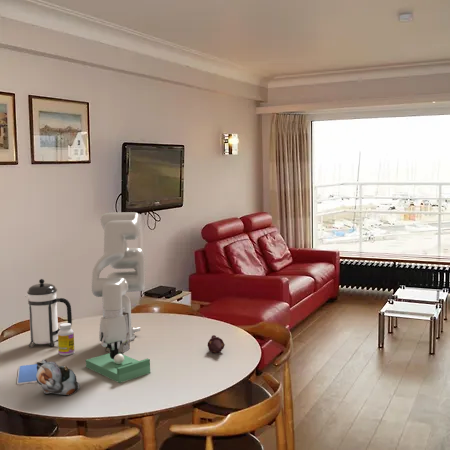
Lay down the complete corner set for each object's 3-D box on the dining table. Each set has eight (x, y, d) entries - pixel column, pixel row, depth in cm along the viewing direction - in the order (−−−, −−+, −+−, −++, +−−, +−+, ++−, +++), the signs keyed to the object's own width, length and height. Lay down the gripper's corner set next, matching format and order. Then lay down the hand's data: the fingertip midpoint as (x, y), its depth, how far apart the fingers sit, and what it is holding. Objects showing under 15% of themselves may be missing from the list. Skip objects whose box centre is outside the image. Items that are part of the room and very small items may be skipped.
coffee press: (36, 351, 245) (33, 284, 242) (22, 343, 257) (18, 279, 253) (73, 343, 256) (70, 278, 253) (58, 335, 268) (55, 273, 265)
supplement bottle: (70, 356, 238) (68, 326, 237) (55, 355, 240) (54, 326, 238) (77, 351, 245) (76, 322, 243) (63, 350, 246) (62, 321, 245)
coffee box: (130, 348, 248) (129, 312, 246) (123, 353, 242) (122, 316, 240) (112, 346, 251) (111, 311, 249) (104, 351, 244) (103, 314, 243)
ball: (125, 365, 220) (119, 361, 222) (127, 355, 219) (121, 351, 222) (116, 366, 217) (111, 362, 219) (118, 356, 216) (112, 352, 219)
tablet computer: (52, 382, 211) (52, 378, 211) (16, 386, 208) (16, 383, 207) (51, 365, 230) (51, 361, 230) (18, 368, 226) (18, 365, 226)
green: (115, 358, 235) (115, 345, 234) (150, 372, 218) (149, 359, 217) (85, 367, 225) (85, 354, 224) (119, 382, 208) (119, 368, 207)
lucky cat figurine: (82, 394, 198) (66, 366, 191) (50, 411, 195) (32, 384, 188) (75, 369, 210) (59, 342, 204) (45, 385, 208) (28, 358, 201)
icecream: (229, 342, 234) (222, 334, 248) (212, 339, 232) (205, 331, 247) (226, 358, 233) (218, 350, 248) (209, 355, 232) (202, 347, 247)
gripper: (123, 308, 228) (125, 351, 230) (90, 315, 218) (92, 361, 220) (134, 311, 223) (135, 356, 225) (101, 318, 212) (103, 365, 214)
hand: (114, 358), depth 222 cm, fingers closed
